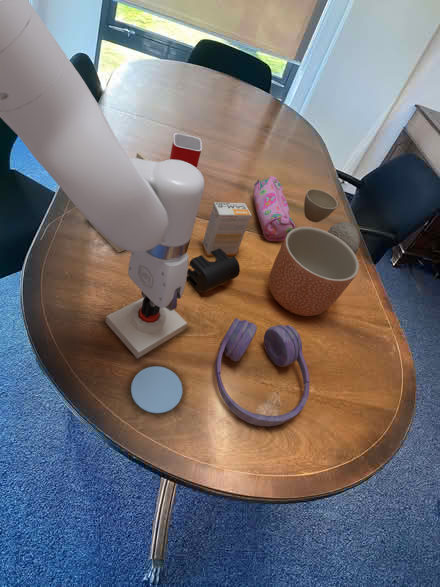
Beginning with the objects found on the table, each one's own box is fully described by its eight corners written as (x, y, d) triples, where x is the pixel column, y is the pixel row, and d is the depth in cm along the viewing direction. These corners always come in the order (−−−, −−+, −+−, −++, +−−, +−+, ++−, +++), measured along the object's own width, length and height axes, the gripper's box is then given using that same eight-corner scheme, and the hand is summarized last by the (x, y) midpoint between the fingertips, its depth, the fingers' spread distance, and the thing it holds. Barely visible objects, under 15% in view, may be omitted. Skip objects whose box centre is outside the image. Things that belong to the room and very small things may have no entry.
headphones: (211, 327, 80) (210, 426, 69) (221, 307, 73) (222, 413, 62) (292, 338, 84) (304, 433, 73) (309, 319, 77) (325, 421, 66)
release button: (146, 328, 73) (147, 322, 72) (135, 315, 74) (135, 310, 73) (161, 320, 75) (162, 314, 74) (149, 307, 76) (151, 302, 75)
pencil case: (248, 196, 119) (258, 170, 113) (276, 202, 121) (287, 177, 115) (256, 241, 105) (268, 214, 98) (288, 247, 107) (301, 221, 101)
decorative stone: (315, 240, 113) (330, 212, 106) (340, 244, 115) (357, 217, 108) (324, 264, 106) (342, 237, 99) (351, 268, 108) (370, 241, 101)
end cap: (203, 300, 85) (210, 279, 80) (183, 279, 88) (189, 257, 83) (234, 284, 91) (243, 264, 86) (215, 265, 94) (223, 244, 89)
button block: (137, 359, 71) (139, 346, 68) (105, 322, 74) (106, 309, 72) (185, 329, 78) (189, 317, 76) (154, 297, 82) (157, 285, 79)
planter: (333, 293, 99) (364, 249, 88) (318, 338, 87) (352, 293, 76) (273, 263, 101) (297, 216, 90) (251, 302, 89) (275, 254, 78)
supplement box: (230, 243, 101) (245, 202, 92) (236, 256, 98) (252, 214, 89) (200, 243, 98) (213, 201, 89) (206, 256, 95) (219, 214, 86)
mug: (194, 184, 115) (202, 152, 108) (166, 179, 113) (173, 145, 106) (193, 163, 123) (200, 132, 116) (167, 158, 121) (173, 125, 114)
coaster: (152, 424, 64) (153, 423, 63) (120, 384, 67) (120, 383, 67) (192, 394, 69) (192, 393, 69) (160, 359, 72) (160, 357, 72)
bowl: (319, 208, 126) (329, 190, 121) (331, 228, 120) (343, 209, 114) (292, 206, 122) (302, 187, 117) (304, 226, 116) (314, 207, 111)
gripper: (116, 218, 61) (110, 294, 74) (178, 278, 56) (159, 348, 69) (154, 206, 65) (141, 280, 78) (214, 260, 60) (190, 329, 73)
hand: (150, 312), depth 73 cm, fingers closed
